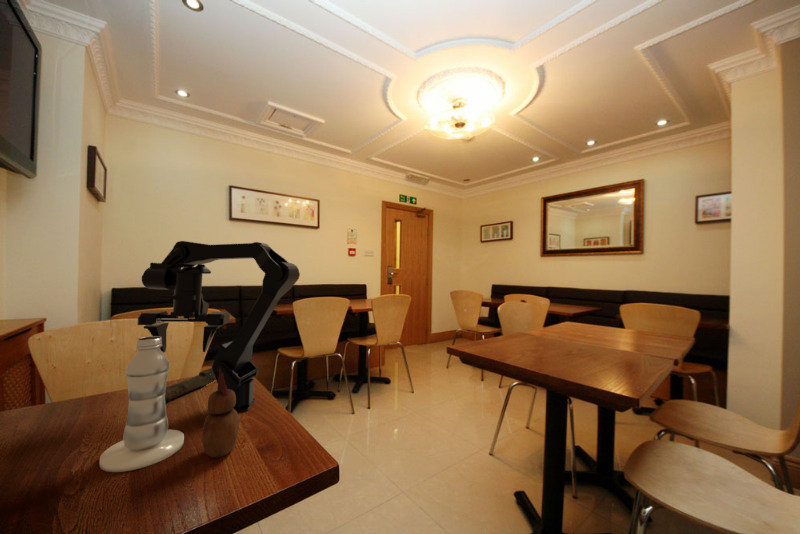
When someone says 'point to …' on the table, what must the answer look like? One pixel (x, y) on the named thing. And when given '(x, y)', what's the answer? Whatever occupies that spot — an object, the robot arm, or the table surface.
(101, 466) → the saucer
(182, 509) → the table surface
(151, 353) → the plastic bottle
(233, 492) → the table surface
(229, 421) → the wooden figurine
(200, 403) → the table surface
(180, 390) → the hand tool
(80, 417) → the table surface
